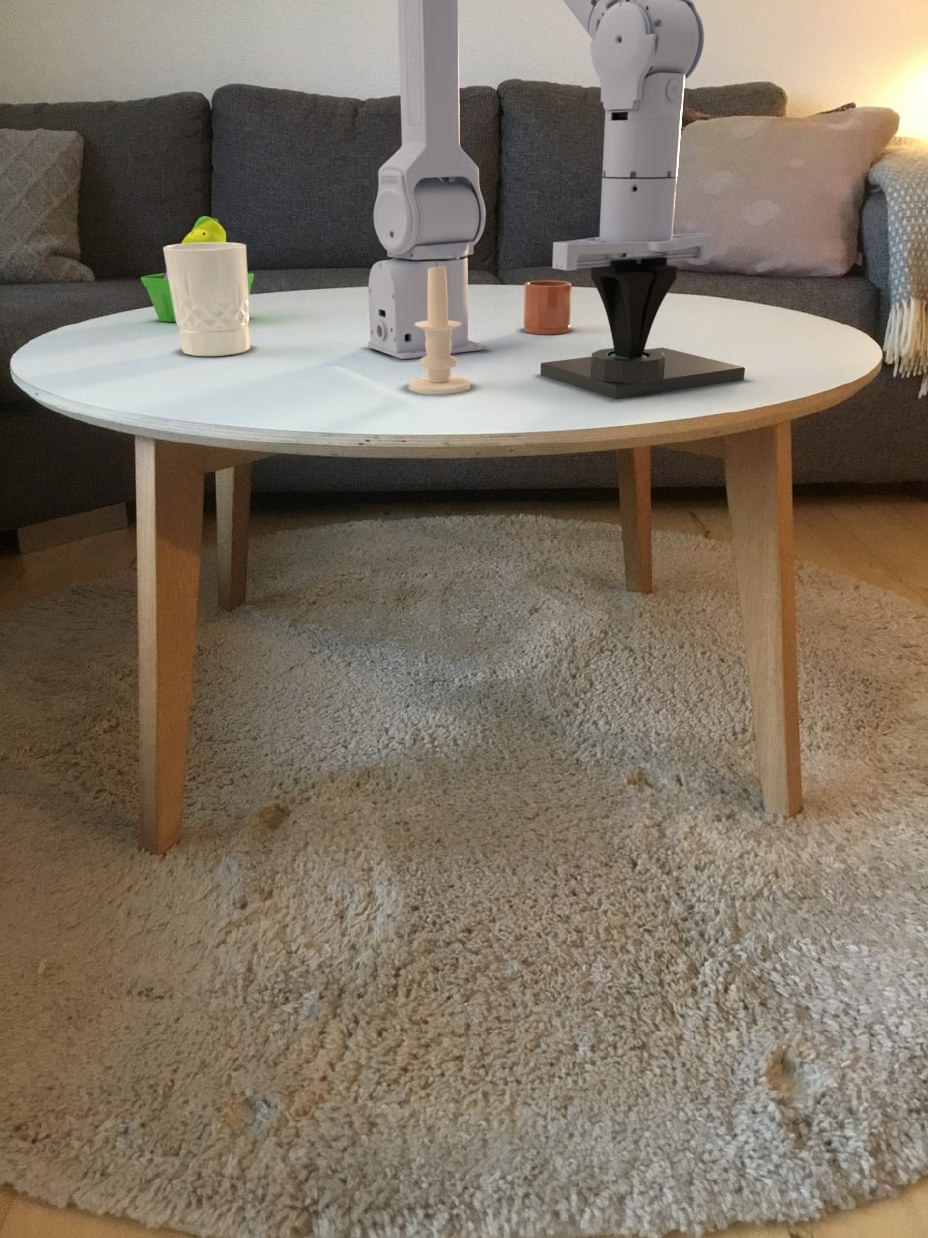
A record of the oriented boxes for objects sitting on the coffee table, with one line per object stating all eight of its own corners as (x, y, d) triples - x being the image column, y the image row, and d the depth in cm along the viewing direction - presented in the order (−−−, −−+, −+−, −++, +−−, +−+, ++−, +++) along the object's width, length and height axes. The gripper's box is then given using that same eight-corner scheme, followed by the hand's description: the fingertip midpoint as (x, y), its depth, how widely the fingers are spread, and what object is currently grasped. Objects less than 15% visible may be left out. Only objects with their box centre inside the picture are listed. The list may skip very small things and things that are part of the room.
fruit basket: (142, 322, 119) (128, 219, 114) (188, 311, 126) (177, 214, 121) (224, 327, 115) (213, 221, 110) (266, 316, 122) (258, 216, 117)
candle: (396, 387, 87) (392, 259, 82) (445, 378, 89) (443, 254, 85) (432, 398, 83) (429, 264, 78) (482, 389, 86) (482, 259, 81)
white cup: (271, 349, 103) (262, 245, 98) (205, 361, 97) (192, 251, 93) (226, 340, 107) (215, 240, 103) (161, 351, 102) (147, 246, 98)
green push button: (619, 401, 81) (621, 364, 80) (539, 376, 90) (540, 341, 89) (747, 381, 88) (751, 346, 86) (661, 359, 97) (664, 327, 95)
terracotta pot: (540, 335, 109) (541, 287, 107) (515, 329, 113) (516, 282, 111) (578, 331, 111) (580, 284, 109) (552, 325, 115) (553, 279, 113)
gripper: (594, 181, 71) (586, 374, 77) (746, 176, 78) (727, 354, 84) (539, 178, 77) (535, 359, 83) (684, 174, 84) (671, 341, 89)
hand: (628, 356), depth 84 cm, fingers closed, pressing on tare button
